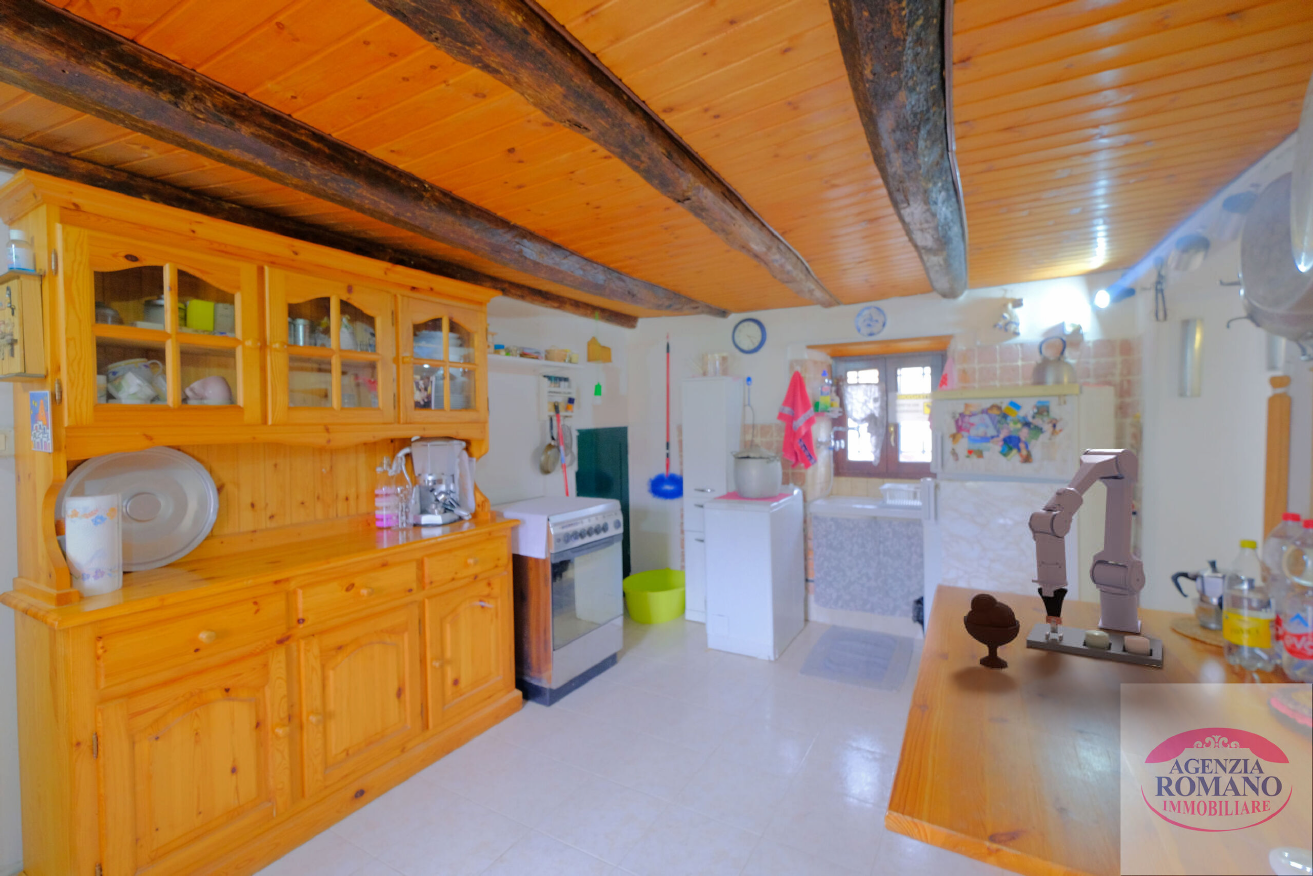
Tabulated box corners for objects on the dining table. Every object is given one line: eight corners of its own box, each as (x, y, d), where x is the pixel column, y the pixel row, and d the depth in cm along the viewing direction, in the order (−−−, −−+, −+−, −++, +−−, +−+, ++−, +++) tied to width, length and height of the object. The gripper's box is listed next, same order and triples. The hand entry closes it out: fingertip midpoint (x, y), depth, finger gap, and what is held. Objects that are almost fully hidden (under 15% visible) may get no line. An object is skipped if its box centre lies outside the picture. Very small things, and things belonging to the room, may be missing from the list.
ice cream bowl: (965, 670, 127) (961, 600, 127) (966, 652, 137) (962, 587, 136) (1024, 677, 122) (1019, 604, 122) (1019, 657, 132) (1016, 590, 131)
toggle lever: (1047, 631, 139) (1046, 615, 140) (1062, 633, 137) (1061, 617, 138) (1046, 632, 138) (1045, 615, 139) (1061, 634, 136) (1061, 617, 137)
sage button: (1086, 641, 135) (1085, 629, 135) (1109, 644, 133) (1108, 632, 133) (1084, 647, 132) (1084, 634, 132) (1108, 650, 130) (1107, 637, 129)
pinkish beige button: (1125, 647, 131) (1124, 634, 131) (1150, 650, 128) (1149, 637, 128) (1124, 653, 128) (1123, 640, 128) (1149, 656, 125) (1149, 643, 125)
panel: (1036, 628, 149) (1035, 618, 149) (1162, 646, 133) (1161, 635, 133) (1026, 645, 138) (1026, 635, 138) (1162, 667, 122) (1161, 655, 122)
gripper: (1036, 554, 147) (1038, 608, 147) (1025, 566, 136) (1028, 625, 136) (1070, 557, 142) (1073, 613, 142) (1062, 569, 131) (1065, 630, 131)
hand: (1054, 619), depth 139 cm, fingers closed, pressing on toggle lever
